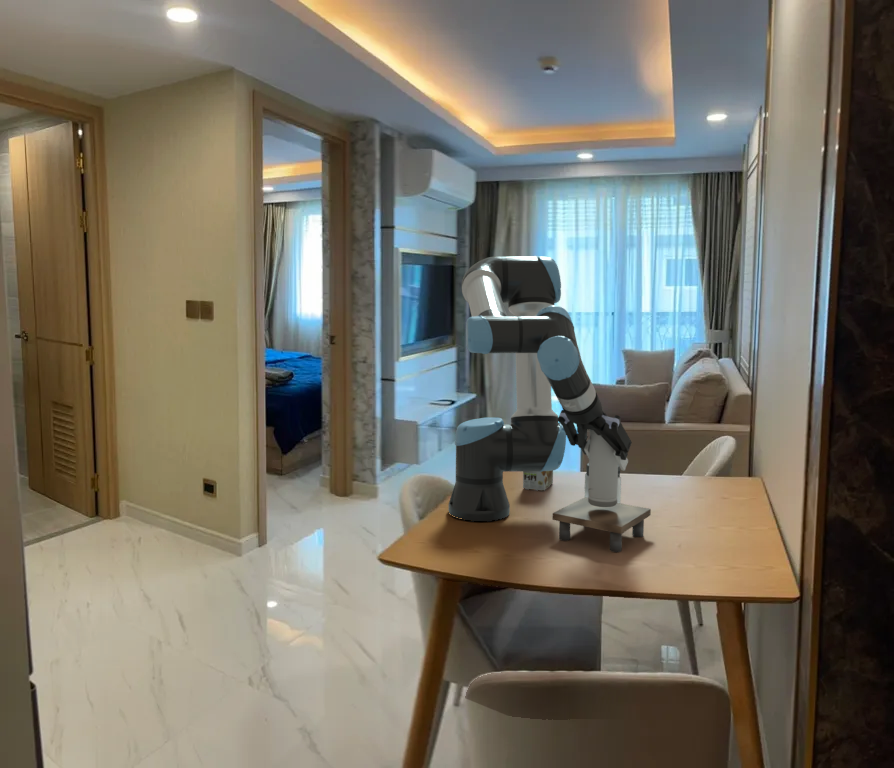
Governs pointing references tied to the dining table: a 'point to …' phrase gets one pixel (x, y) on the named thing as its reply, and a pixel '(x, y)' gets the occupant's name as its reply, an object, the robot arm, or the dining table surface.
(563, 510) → the peg shelf
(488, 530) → the dining table surface
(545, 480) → the coffee box
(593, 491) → the travel mug
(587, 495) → the jar
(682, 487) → the dining table surface
